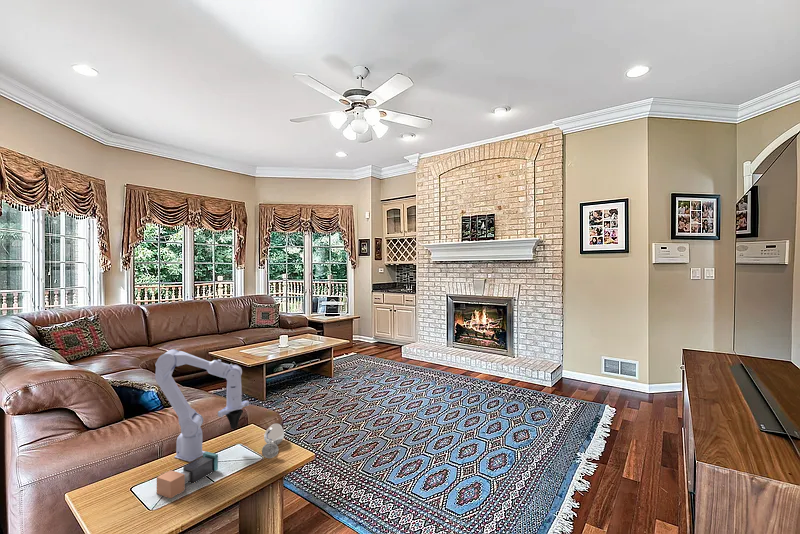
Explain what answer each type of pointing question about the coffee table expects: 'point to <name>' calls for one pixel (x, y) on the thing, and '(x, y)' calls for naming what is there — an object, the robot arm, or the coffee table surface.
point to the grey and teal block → (208, 455)
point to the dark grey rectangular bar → (199, 468)
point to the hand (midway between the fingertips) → (234, 428)
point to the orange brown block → (170, 483)
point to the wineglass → (272, 440)
